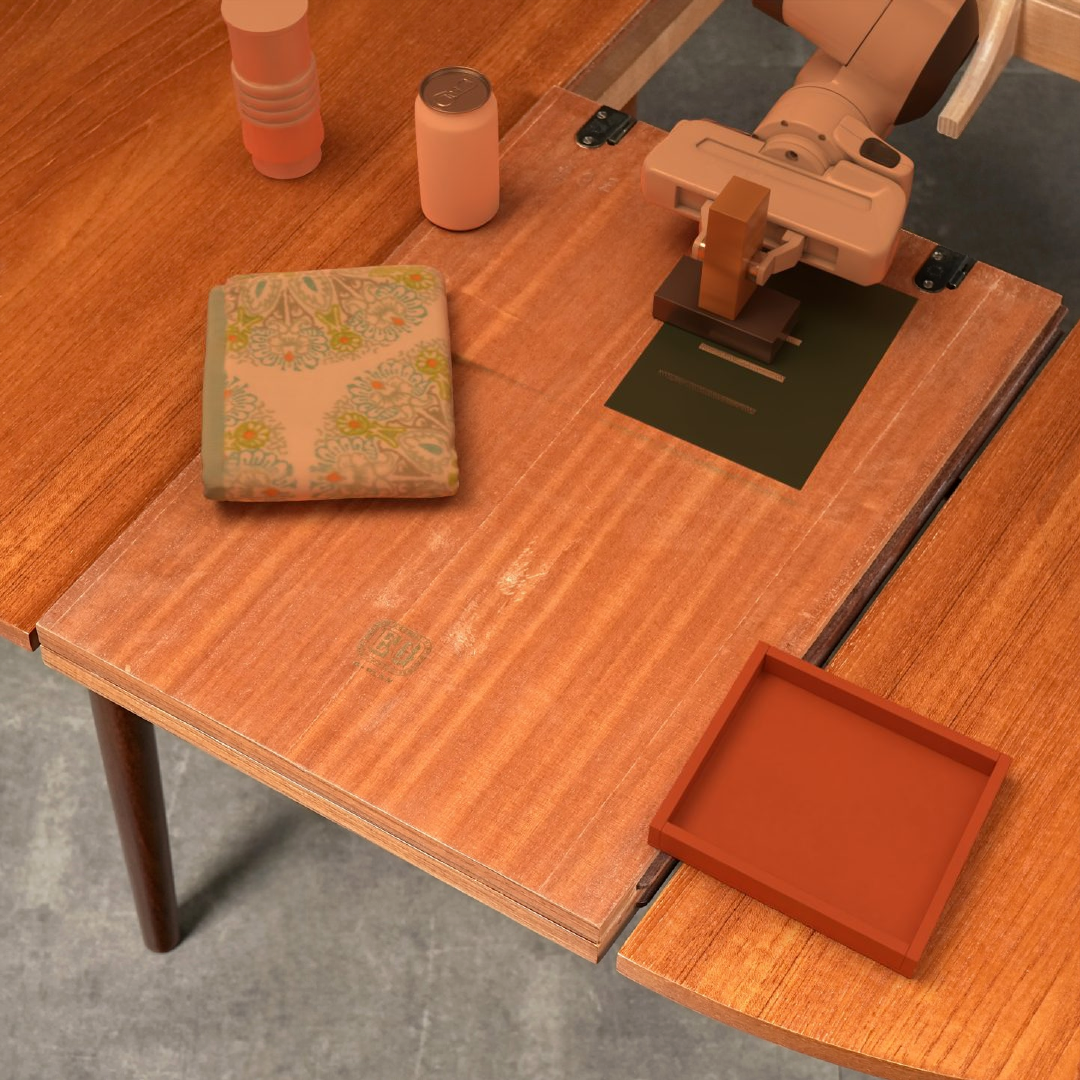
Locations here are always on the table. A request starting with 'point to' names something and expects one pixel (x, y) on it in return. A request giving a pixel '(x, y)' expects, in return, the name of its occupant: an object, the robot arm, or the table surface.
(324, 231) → the table surface
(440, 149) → the can
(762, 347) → the duster
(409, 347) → the towel
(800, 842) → the tray
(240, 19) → the pink ridged cylinder
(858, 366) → the slate board
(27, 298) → the table surface
